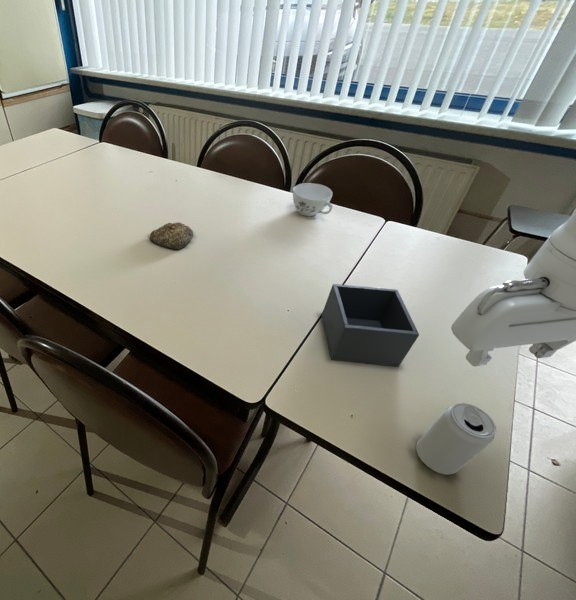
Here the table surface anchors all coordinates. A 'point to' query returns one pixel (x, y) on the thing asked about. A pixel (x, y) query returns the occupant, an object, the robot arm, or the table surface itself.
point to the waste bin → (367, 325)
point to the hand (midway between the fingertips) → (506, 358)
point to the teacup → (312, 198)
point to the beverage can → (456, 438)
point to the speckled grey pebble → (172, 235)
